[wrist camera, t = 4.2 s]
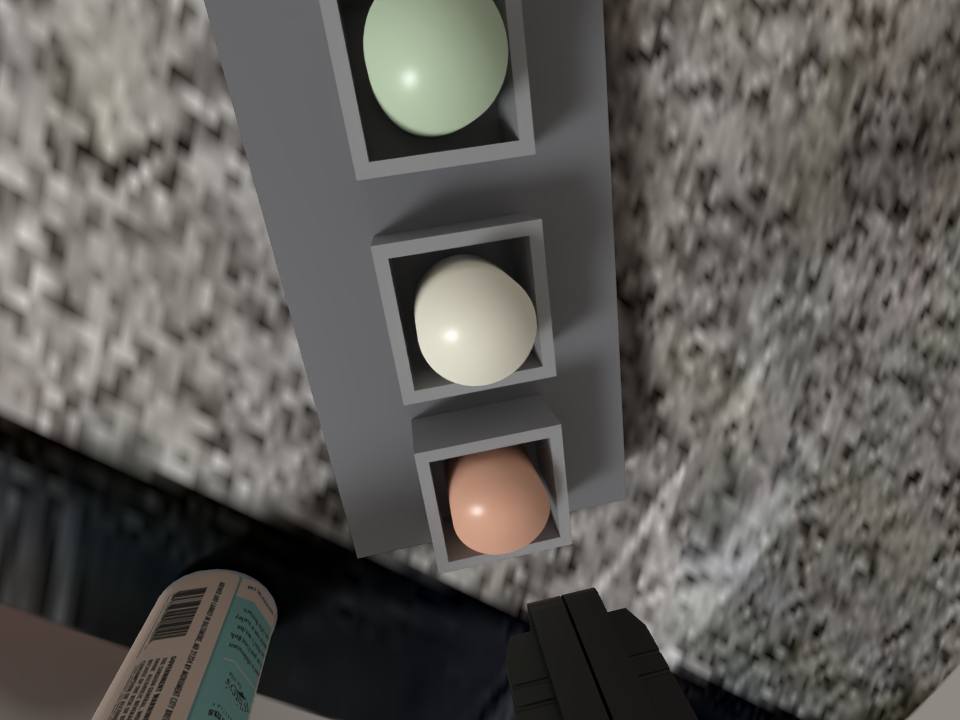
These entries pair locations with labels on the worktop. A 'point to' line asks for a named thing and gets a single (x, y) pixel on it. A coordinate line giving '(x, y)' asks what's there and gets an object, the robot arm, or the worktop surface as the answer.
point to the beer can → (196, 652)
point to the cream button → (473, 320)
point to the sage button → (434, 62)
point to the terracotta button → (496, 499)
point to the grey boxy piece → (437, 257)
